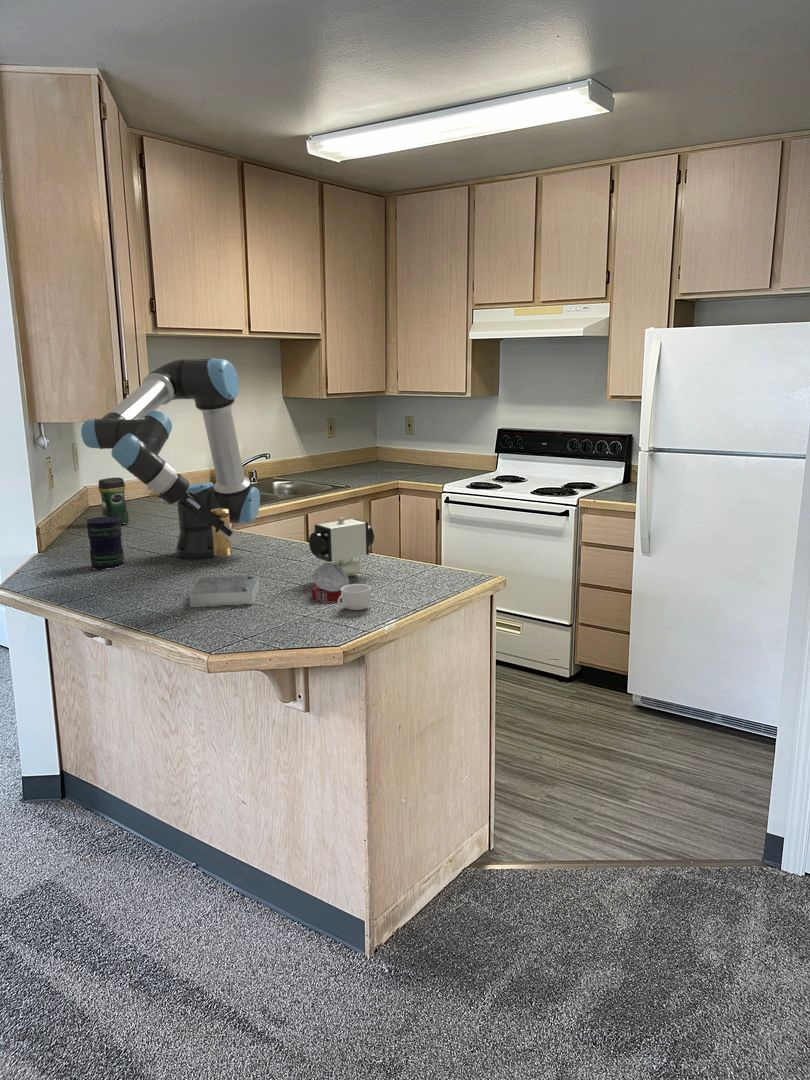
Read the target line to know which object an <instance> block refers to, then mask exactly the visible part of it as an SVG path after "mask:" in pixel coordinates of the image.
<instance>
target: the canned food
mask: <svg viewBox="0 0 810 1080" xmlns="http://www.w3.org/2000/svg"><path fill="white" fill-rule="evenodd" d="M349 578H350V577H348V576H347V575H346V573H345V572H344V571H343V570H342V568H341V567H339V566H338V565H336V564H331V562H326V563H323V564H321V565H319V566H318V567H317V568H315V570H314V572H313V574H312V582H313V583H314V584H313V585H312V586H311V599H312V598H313V599H312V600H314V601H316V600H317V601H316V602H320V601H336V602H338V598H339V597H340V596H341V588H342V587H343V586H346V585H350V580H349ZM340 600H341V601H342V598H341V599H340Z"/></svg>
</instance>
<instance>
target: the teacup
mask: <svg viewBox="0 0 810 1080" xmlns="http://www.w3.org/2000/svg"><path fill="white" fill-rule="evenodd" d="M341 598H342V600H341V601H340V599H341ZM371 600H372V586H371V585H368V584H365V583H353V584H352V583H351V584H349V585H346V586H343V587H342V588H341V596H340V597H339V598H338V601H337V603H338V605H339V606H341V607H344V608H345V609H347V610H348V609H349V611H351V610H361V611H364V610H366V609H367V608H368V607H369V606H370V604H371ZM341 602H342V603H341ZM363 609H364V610H363Z"/></svg>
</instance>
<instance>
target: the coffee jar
mask: <svg viewBox="0 0 810 1080" xmlns="http://www.w3.org/2000/svg"><path fill="white" fill-rule="evenodd" d="M125 491H126V485H125V481H124V479H123V478H122V477H109V478H108V477H107V478H103V479H99V480H98V492H99V493H100V496H101V517H107V516H113V517H119V518H120V524H123V523H128V522H129V523H130V519H129V514H128V513H129V512H128V509H127V505H126V500H125V499H126V498H125ZM129 523H128V524H129Z"/></svg>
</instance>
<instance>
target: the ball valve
mask: <svg viewBox="0 0 810 1080" xmlns="http://www.w3.org/2000/svg"><path fill="white" fill-rule="evenodd" d="M374 541H375V534H374V531H373V528H372V527H371V526H370V525H369V522H368V521H365V520H360V519H358V518H350V519H345V518H344V517H338V520H337V521H331V522H326V523H318V524H314V529H313V532H312V533H310V535H309V540H308V546H309V549H310V552H311V554H313V556H315V558H317V559H319V560H322V561H325V562H326V563H331V564H336V565H338V566H339V567H341V568H342V570H343V571H344V572H345V573H346V575H347V576H348V578H351V577H354V576H356V575H358V574H359V573H360V569H361V568H360V565H359V562H357V561H355V560H354V558H356V557H362V556H367V555H369V554H370V549H371V547H372V546H373V544H374Z"/></svg>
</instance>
